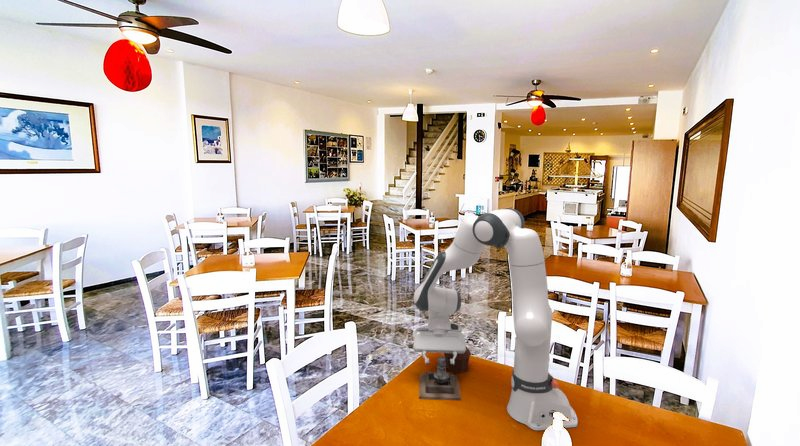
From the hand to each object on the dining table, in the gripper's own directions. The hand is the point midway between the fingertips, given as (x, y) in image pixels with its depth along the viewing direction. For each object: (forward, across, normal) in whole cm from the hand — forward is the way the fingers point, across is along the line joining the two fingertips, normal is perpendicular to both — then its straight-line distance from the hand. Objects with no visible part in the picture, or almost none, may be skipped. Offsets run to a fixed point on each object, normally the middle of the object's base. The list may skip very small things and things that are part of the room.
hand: (439, 364), depth 147 cm
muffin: (-4, +8, +19) cm, 21 cm away
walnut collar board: (+7, 0, +7) cm, 10 cm away
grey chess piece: (+6, +1, +7) cm, 9 cm away
